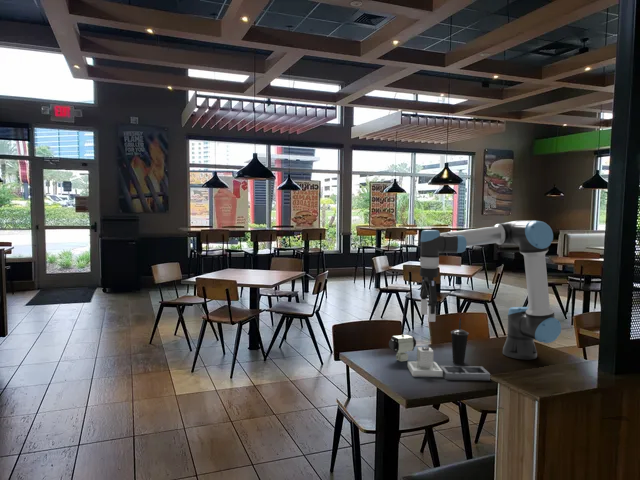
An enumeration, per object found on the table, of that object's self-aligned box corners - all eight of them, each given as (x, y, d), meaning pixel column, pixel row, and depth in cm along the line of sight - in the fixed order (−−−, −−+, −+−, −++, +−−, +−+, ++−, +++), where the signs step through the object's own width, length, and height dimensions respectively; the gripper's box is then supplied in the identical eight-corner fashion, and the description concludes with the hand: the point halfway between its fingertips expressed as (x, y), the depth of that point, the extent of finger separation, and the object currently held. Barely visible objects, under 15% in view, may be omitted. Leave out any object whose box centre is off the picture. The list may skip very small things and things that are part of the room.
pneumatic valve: (388, 360, 219) (388, 333, 219) (410, 357, 224) (410, 331, 223) (394, 363, 214) (395, 337, 214) (416, 361, 219) (417, 334, 218)
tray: (435, 367, 210) (435, 361, 210) (442, 377, 198) (442, 371, 198) (407, 367, 210) (407, 361, 210) (413, 376, 198) (413, 370, 198)
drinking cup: (468, 365, 214) (470, 320, 213) (450, 364, 216) (451, 319, 214) (466, 360, 222) (468, 317, 220) (449, 359, 223) (450, 315, 222)
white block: (429, 368, 207) (430, 346, 207) (432, 372, 202) (433, 349, 201) (416, 368, 207) (417, 346, 206) (419, 372, 201) (420, 349, 201)
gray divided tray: (481, 372, 206) (482, 366, 206) (490, 380, 196) (490, 374, 196) (439, 371, 205) (439, 365, 205) (445, 379, 195) (446, 373, 195)
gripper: (413, 263, 215) (412, 311, 216) (427, 270, 190) (425, 324, 191) (430, 264, 215) (429, 311, 216) (446, 271, 190) (444, 324, 191)
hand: (427, 317), depth 204 cm, fingers open, 13 cm apart
